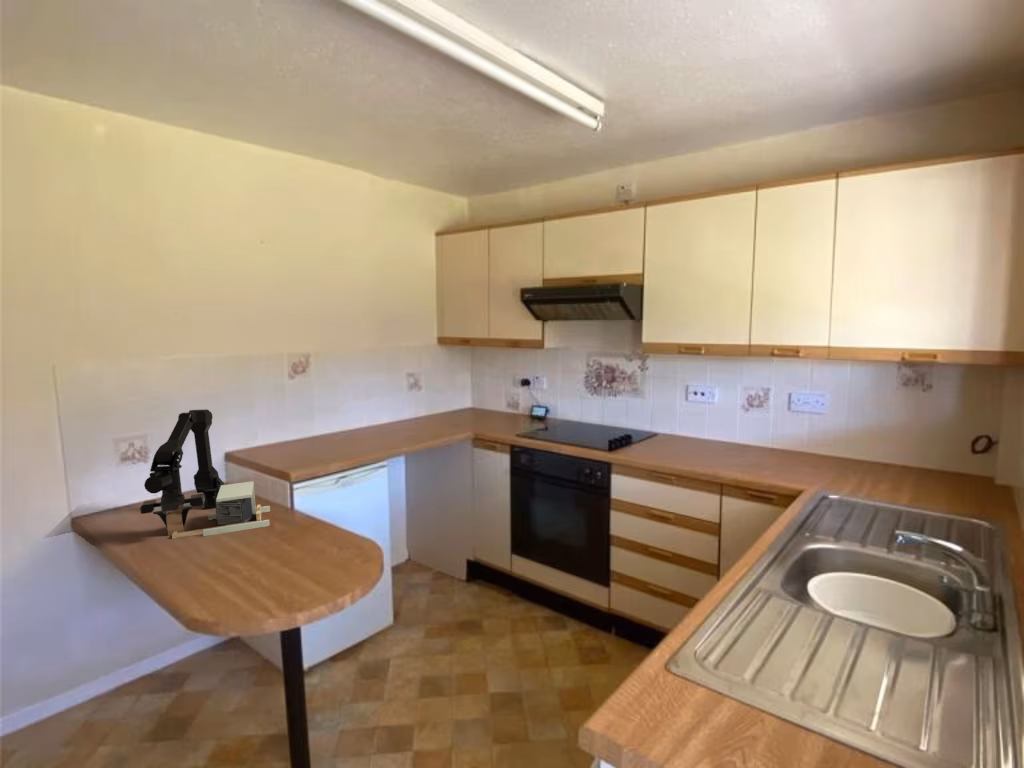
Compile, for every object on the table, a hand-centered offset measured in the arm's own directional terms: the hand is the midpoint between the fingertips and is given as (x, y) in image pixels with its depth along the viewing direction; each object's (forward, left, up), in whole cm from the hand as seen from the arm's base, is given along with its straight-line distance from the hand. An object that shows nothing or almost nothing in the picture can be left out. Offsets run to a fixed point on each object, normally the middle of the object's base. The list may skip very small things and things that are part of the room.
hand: (176, 526), depth 193 cm
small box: (0, +19, -2) cm, 19 cm away
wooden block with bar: (0, +12, -2) cm, 13 cm away
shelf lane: (0, +20, -2) cm, 20 cm away
